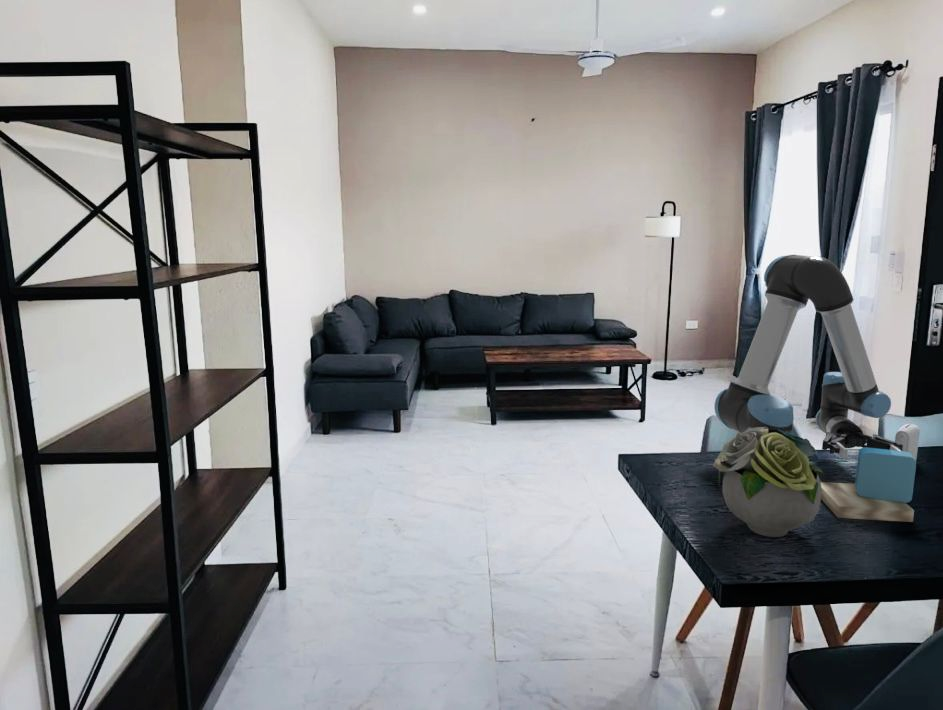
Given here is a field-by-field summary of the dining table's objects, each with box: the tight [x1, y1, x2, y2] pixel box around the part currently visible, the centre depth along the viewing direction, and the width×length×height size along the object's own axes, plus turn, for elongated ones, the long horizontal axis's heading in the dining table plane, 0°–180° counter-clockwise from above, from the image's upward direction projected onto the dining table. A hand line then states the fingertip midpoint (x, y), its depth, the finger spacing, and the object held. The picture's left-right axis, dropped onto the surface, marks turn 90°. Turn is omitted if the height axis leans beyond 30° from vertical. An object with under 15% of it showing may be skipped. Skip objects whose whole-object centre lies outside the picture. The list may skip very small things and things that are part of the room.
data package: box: [854, 447, 917, 504], centre depth 171 cm, size 12×4×12 cm, turn 65°
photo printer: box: [894, 423, 921, 462], centre depth 203 cm, size 10×4×12 cm, turn 130°
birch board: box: [821, 481, 915, 523], centre depth 173 cm, size 17×16×3 cm
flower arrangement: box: [712, 427, 824, 538], centre depth 158 cm, size 25×25×24 cm
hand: (873, 456), depth 178 cm, fingers open, 13 cm apart
